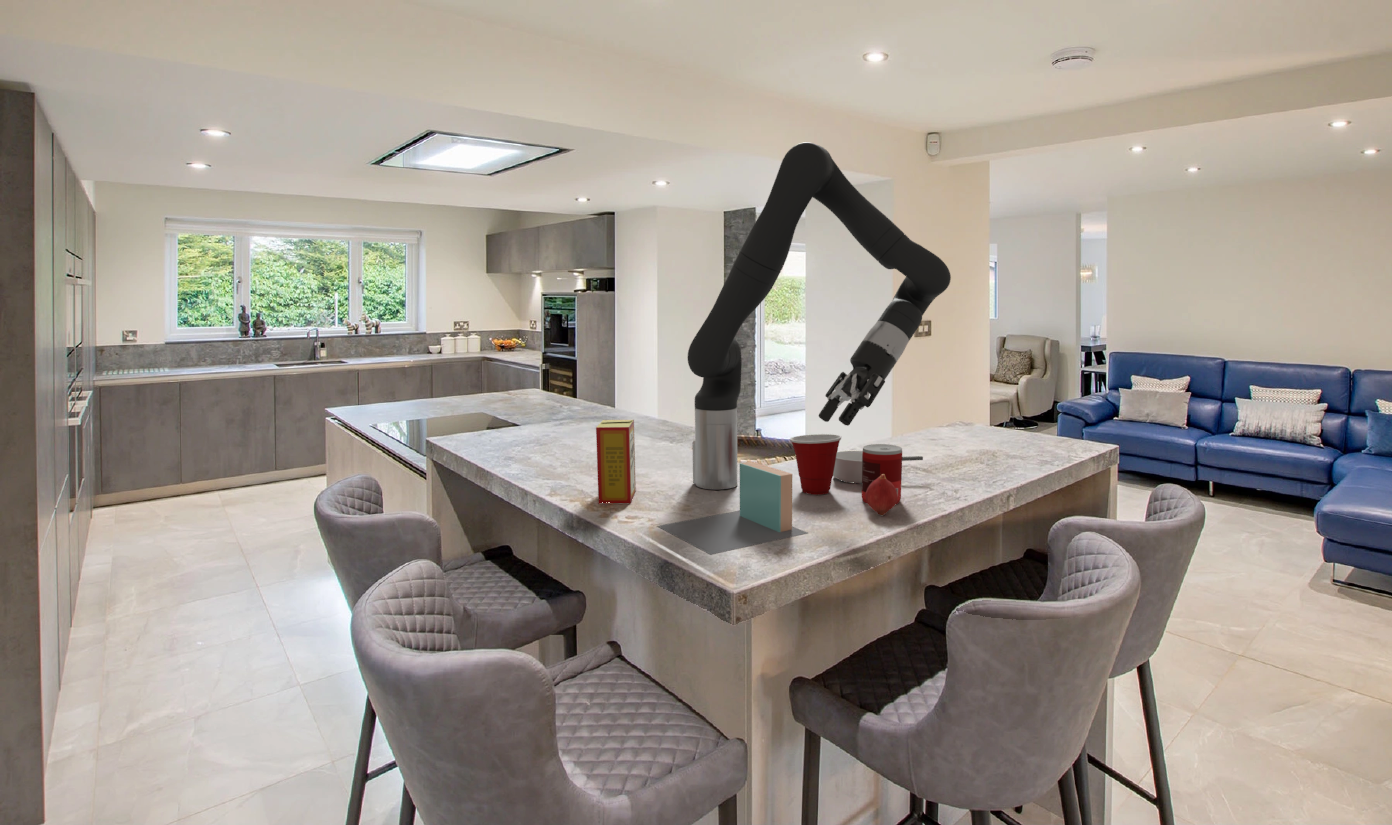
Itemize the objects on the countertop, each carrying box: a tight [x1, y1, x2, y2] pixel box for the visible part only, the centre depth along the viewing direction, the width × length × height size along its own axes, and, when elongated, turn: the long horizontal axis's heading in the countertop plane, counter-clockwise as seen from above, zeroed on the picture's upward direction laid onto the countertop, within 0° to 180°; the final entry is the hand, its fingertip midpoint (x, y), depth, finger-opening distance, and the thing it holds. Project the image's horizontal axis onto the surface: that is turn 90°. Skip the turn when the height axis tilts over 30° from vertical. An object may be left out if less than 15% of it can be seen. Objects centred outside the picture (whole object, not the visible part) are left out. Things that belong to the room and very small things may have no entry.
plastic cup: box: [789, 433, 842, 496], centre depth 158 cm, size 11×11×12 cm
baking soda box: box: [595, 419, 637, 504], centre depth 155 cm, size 10×6×16 cm
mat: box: [656, 509, 809, 556], centre depth 132 cm, size 18×20×1 cm
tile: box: [739, 461, 793, 532], centre depth 135 cm, size 12×3×10 cm, turn 32°
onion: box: [865, 474, 898, 516], centre depth 140 cm, size 6×6×8 cm
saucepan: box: [833, 449, 924, 484], centre depth 168 cm, size 12×20×6 cm, turn 81°
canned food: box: [861, 443, 903, 505], centre depth 150 cm, size 8×8×11 cm
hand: (832, 421), depth 139 cm, fingers open, 8 cm apart
